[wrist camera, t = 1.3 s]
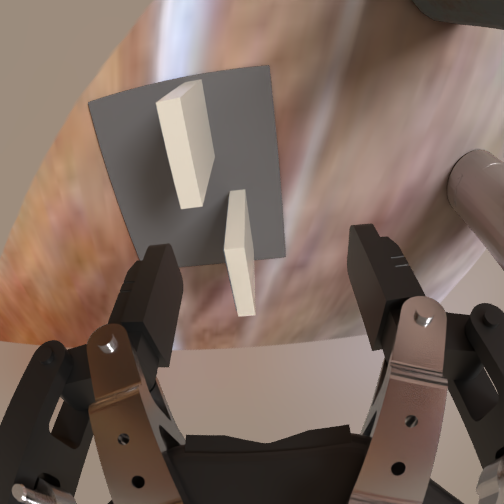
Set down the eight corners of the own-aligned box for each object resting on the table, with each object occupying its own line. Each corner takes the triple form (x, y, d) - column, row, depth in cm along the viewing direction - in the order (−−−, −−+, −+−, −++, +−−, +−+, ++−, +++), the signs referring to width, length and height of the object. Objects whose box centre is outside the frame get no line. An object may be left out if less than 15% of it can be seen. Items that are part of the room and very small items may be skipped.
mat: (268, 65, 25) (269, 65, 25) (285, 255, 39) (285, 257, 38) (89, 101, 26) (87, 102, 26) (144, 268, 40) (144, 270, 39)
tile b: (245, 189, 33) (244, 247, 25) (253, 250, 38) (255, 315, 30) (228, 191, 33) (222, 249, 25) (238, 251, 38) (236, 316, 30)
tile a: (201, 79, 26) (179, 97, 18) (214, 156, 30) (202, 206, 22) (183, 82, 26) (153, 102, 18) (197, 159, 30) (179, 209, 23)
